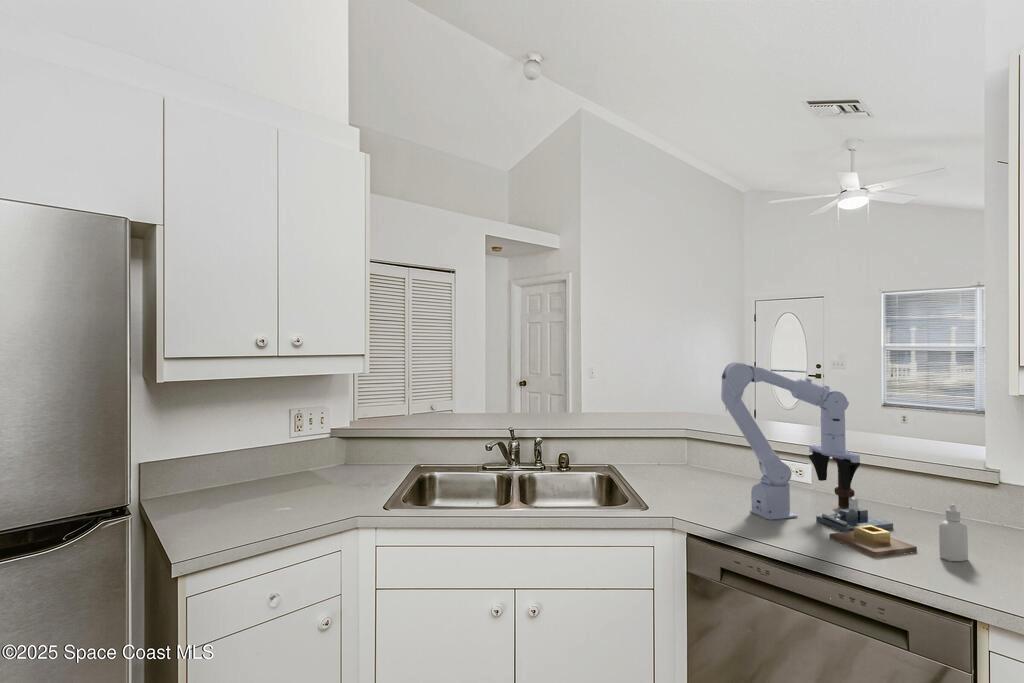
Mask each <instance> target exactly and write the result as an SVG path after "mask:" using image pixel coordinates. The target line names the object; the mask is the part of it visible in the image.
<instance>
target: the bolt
mask: <svg viewBox="0 0 1024 683" xmlns="http://www.w3.org/2000/svg"><path fill="white" fill-rule="evenodd" d="M831 458H832V461H834V462H835V463H836V467H837V486H836V487H834V494H835V495H836V496H838V501H837V502H838V503H837V504H838V505H837V506H838V507H840V508H841V509H849V498H854V497H855V490H854V489H853V488H852V484H851V485H850V487H848V488H843V487H842V486H841V476H840V470H839V467H838V464H837V461H843V459H839V458H834V457H831Z"/></svg>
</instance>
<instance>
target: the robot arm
mask: <svg viewBox="0 0 1024 683" xmlns="http://www.w3.org/2000/svg"><path fill="white" fill-rule="evenodd" d="M720 378H721V393H720V394H721V395H720V396H721V401H722V403H723V405H724V406H725V407H726V410H727V411H728V412H729V414H730V415H731V417H732V418H733V420H734V422H735V424H736V425H737V427H738V429H739V430H740V431H741V433H742V436H744V439H745V440H746V441H747V444H748V445H749V446H750V448H751V450H752V451H753V453H754V454H755V458H756V460H758V465H759V470H760V472H761V473H762V474H763V475H762V476H761V478H760V482H758V483H756V484H753V486H752V488H751V492H750V493H751V497H750V498H751V499H750V500H751V509H749V512H750V513H753V514H755V515H756V516H757V515H758V516H760V517H762V518H764V519H766V520H771V521H772V520H780V519H781V520H782V519H791V518H792V519H793V518H798V514H796V513H793V512H791V498H790V497H791V494H790V493H791V491H790V489H791V486H790V480H791V478H792V469H791V467H790V466H789V465H787V464H786V463H785V462H783V461H782V460H781V459H780V457H779V456H778V454H777V453H776V451H774V449H773V447H772V446H771V445H770V443H769V441H768V440H767V438H766V437H765V435H764V434H763V432H762V430H761V429H760V427H759V425H758V424H757V422H756V420H755V419H754V418H753V416H752V414H751V413H750V411H749V410H748V408H747V406H746V405H745V403H744V401H743V400H742V397H743V394H744V392H745V389H746V388H747V387H748V385H749V384H750V383H759V382H760V383H761V382H763V383H766V384H770V385H772V386H775V387H778V388H781V389H783V390H787V391H789V392H790V394H791V395H792V397H793V398H794V399H797V400H800V401H803V402H804V403H808V404H810V405H813V406H816V407H819V408H820V445H809V446H808V447H809V448H808V449H809V450H808V452H809V453H811V454H808V458H809V459H810V462H811V463H812V465H813V467H814V470H815V473H816V477H817V480H818V481H821V482H823V481H827V479H828V478H827V477H828V466H829V465H828V464H829V461H830V457H831V458H832V457H834V458H839V459H843V461H837V462H836V465H837V464H838V467H839V470H840V476H841V486H842V487H843V488H848V487H850V488H851V486H852V482H853V478H854V475H855V473H856V471H857V470H858V468H859V467H860V466H861V456H860V454H858V453H854V452H851V451H848V449H846V415H845V414H846V412H845V411H847V409H848V407H849V405H850V402H849V401H848V398H847V396H846V395H845V394H844V393H842V392H840V391H837V390H833V389H831V388H830V386H828V385H824V386H823V385H820V384H818V383H815V382H813V380H812V379H810V378H808V377H805V379H804V378H799V379H796V380H793V379H790V378H789V377H786V376H783V375H781V374H779V373H775V372H773V371H771V370H768V369H766V368H764V367H760V366H756V365H755V366H754V365H749V364H746V363H744V362H743V363H742V362H731V363H729V364H727V365H726V366H725V367H724V369H723V372H722V374H721V377H720ZM838 467H837V468H838ZM850 485H851V486H850Z"/></svg>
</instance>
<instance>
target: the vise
mask: <svg viewBox="0 0 1024 683" xmlns="http://www.w3.org/2000/svg"><path fill="white" fill-rule="evenodd" d="M815 519H816V520H815V521H816V523H819V524H822V525H824V526H827V527H829V528H831V527H832V528H831V529H834V528H835V529H834V530H836V531H839V530H840V531H839V532H848V531H854V527H857V526H865V525H872V526H875V527H878V528H881V529H883V530H886V531H889V530H894V522H890V521H887V520H885V519H882V518H878V517H875V516H872V515H869V512H868V509H866V508H863V507H859V498H857V497H851V498H849V508H844V509H839V513H832V514H826V513H822V514H821V515H816V517H815Z"/></svg>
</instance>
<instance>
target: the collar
mask: <svg viewBox="0 0 1024 683" xmlns="http://www.w3.org/2000/svg"><path fill="white" fill-rule="evenodd" d="M854 537H855V538H857V539H860V540H862V541H865V542H867V543H870V544H872V545H876V544H884V543H890V537H891V531H889V530H883V529H881V528H878V527H875V526H872V525H865V526H857V527H854Z"/></svg>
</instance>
